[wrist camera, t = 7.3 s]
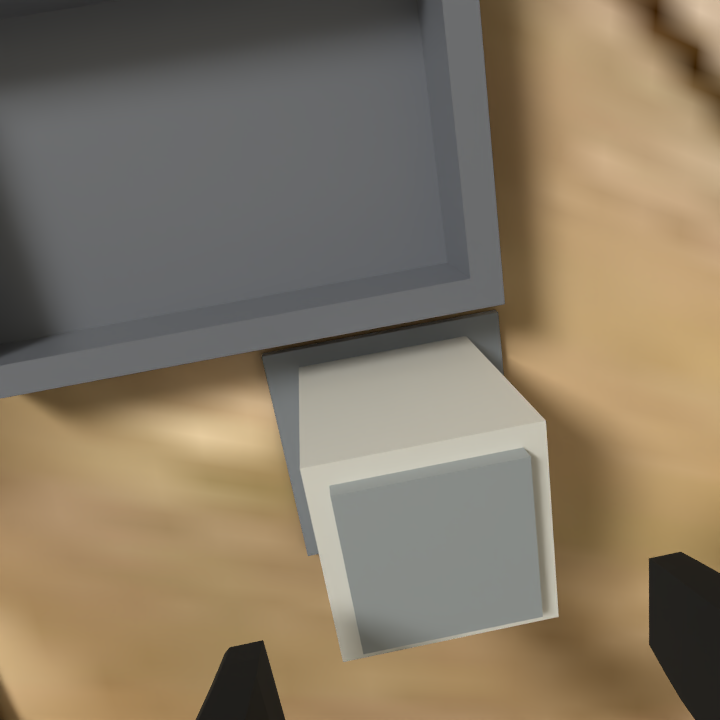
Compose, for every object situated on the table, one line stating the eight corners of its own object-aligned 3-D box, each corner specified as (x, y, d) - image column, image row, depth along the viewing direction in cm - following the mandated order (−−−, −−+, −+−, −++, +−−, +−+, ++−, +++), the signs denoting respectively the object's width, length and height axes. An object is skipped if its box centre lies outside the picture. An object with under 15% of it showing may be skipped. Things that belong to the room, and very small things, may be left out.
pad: (512, 508, 20) (515, 514, 20) (307, 550, 20) (307, 555, 20) (494, 309, 18) (498, 312, 17) (262, 353, 17) (261, 356, 17)
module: (481, 482, 19) (565, 630, 13) (329, 512, 19) (344, 676, 13) (465, 335, 18) (553, 429, 12) (298, 367, 17) (299, 479, 11)
